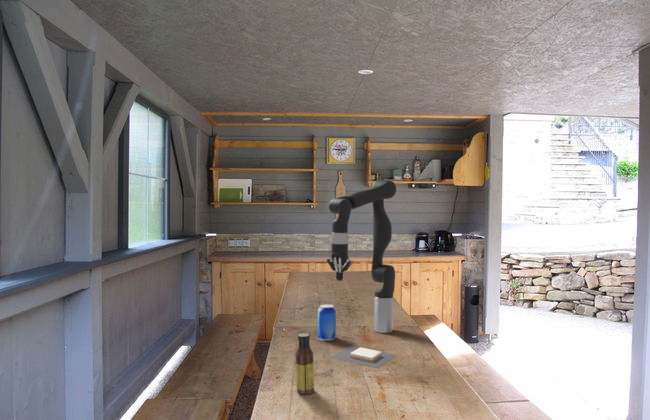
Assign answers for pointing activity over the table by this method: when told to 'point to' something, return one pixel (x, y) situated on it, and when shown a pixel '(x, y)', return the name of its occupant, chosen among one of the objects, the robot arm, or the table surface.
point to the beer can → (326, 322)
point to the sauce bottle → (304, 366)
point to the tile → (365, 354)
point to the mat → (377, 363)
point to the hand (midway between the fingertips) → (339, 280)
